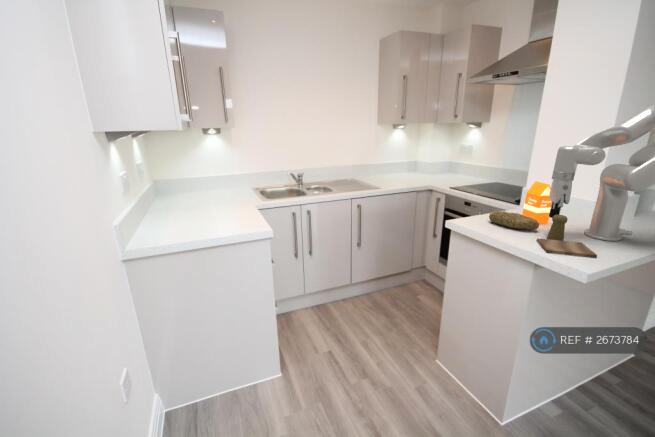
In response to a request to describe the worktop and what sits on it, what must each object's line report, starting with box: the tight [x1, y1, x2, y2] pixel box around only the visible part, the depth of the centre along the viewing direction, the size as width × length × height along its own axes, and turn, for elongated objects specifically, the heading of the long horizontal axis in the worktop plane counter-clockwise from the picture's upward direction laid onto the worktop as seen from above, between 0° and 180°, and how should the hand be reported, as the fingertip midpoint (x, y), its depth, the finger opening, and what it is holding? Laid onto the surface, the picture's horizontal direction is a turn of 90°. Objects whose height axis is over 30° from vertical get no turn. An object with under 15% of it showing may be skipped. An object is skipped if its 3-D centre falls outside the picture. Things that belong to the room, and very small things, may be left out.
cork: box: [546, 214, 569, 241], centre depth 130 cm, size 6×6×11 cm
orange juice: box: [521, 180, 551, 225], centre depth 153 cm, size 8×9×20 cm
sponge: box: [488, 210, 540, 230], centre depth 148 cm, size 13×8×20 cm
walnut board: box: [536, 237, 598, 259], centre depth 122 cm, size 16×13×1 cm
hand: (553, 217), depth 135 cm, fingers closed
